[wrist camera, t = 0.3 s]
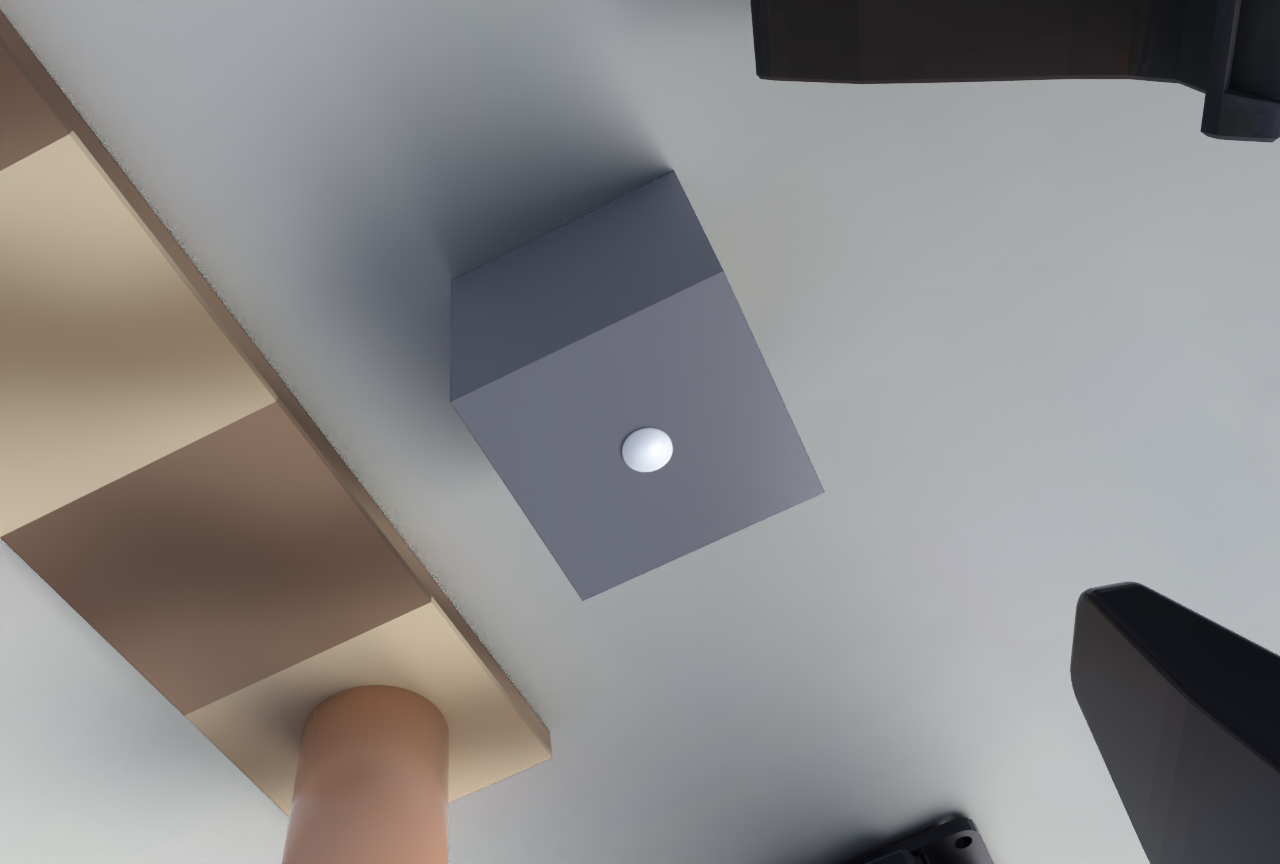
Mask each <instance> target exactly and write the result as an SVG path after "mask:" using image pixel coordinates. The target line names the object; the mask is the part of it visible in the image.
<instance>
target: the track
mask: <svg viewBox="0 0 1280 864" xmlns="http://www.w3.org/2000/svg"><path fill="white" fill-rule="evenodd" d="M0 538H1V539H2V540H3V541H4V542H5V543H6V544H7V545H8V546H9V547H10V548H11V549H12V550H13V551H14V552H16V553H17V554H18V555H19V556H20V557H21V558H22V559H23V560H24V561H25V562H26V563H27V564H28V565H29V566H30V567H31V568H32V569H33V570H34V571H35V572H36V573H37V574H38V575H39V576H40V577H41V578H42V579H43V580H44V581H45V582H47V583H48V584H49V585H50V586H51V587H52V588H53V589H54V590H55V591H56V592H57V593H58V594H59V595H60V596H61V597H62V598H63V599H64V600H65V601H66V602H67V603H68V604H69V605H70V606H71V607H72V608H73V609H74V610H75V611H76V612H77V613H79V614H80V615H81V616H82V617H83V618H84V619H85V620H86V621H87V622H88V623H89V624H90V625H91V626H92V627H93V628H94V629H95V630H96V631H97V632H98V633H99V634H100V635H101V636H102V637H103V638H104V639H105V640H106V641H107V642H108V643H110V644H111V645H112V646H113V647H114V648H115V649H116V650H117V651H118V652H119V653H120V654H121V655H122V656H123V657H124V658H125V659H126V660H127V661H128V662H129V663H130V664H131V665H132V666H133V667H134V668H135V669H136V670H137V671H138V672H139V673H141V674H142V675H143V676H144V677H145V678H146V679H147V680H148V681H149V682H150V683H151V684H152V685H153V686H154V687H155V688H156V689H157V690H158V691H159V692H160V693H161V694H162V695H163V696H164V697H165V698H166V699H167V700H168V701H169V702H170V703H171V704H173V705H174V706H175V707H176V708H177V709H178V710H179V711H180V712H181V713H182V714H183V715H184V716H185V717H186V718H187V719H188V720H189V721H190V722H191V723H192V724H193V725H194V726H195V727H196V728H197V729H198V730H199V731H200V732H201V733H202V734H204V735H205V736H206V737H207V738H208V739H209V740H210V741H211V742H212V743H213V744H214V745H215V746H216V747H217V748H218V749H219V750H220V751H221V752H222V753H223V754H224V755H225V756H226V757H227V758H228V759H229V760H230V761H231V762H232V763H233V764H235V765H236V766H237V767H238V768H239V769H240V770H241V771H242V772H243V773H244V774H245V775H246V776H247V777H248V778H249V779H250V780H251V781H252V782H253V783H254V784H255V785H256V786H257V787H258V788H259V789H260V790H261V791H262V792H263V793H264V794H266V795H267V796H268V797H269V798H270V799H271V800H272V801H273V802H274V803H275V804H276V805H277V806H278V807H279V808H280V809H281V810H282V811H283V812H284V813H285V814H286V815H287V816H288V817H289V815H290V809H291V802H292V796H293V790H294V783H295V777H296V770H297V764H298V757H299V751H300V744H301V738H302V732H303V727H304V724H305V722H306V720H307V718H308V716H309V715H310V713H311V712H312V711H313V710H314V709H315V708H316V707H317V706H318V705H319V704H320V703H321V702H323V701H324V700H326V699H327V698H329V697H331V696H333V695H335V694H336V693H339V692H342V691H344V690H347V689H351V688H355V687H360V686H368V685H387V686H395V687H399V688H404V689H407V690H410V691H413V692H415V693H417V694H420V695H421V696H423V697H425V698H426V699H428V700H429V701H431V702H432V703H433V704H434V705H435V706H436V707H437V708H438V709H439V710H440V711H441V713H442V714H443V716H444V718H445V720H446V722H447V725H448V729H449V803H450V802H453V801H455V800H457V799H460V798H462V797H464V796H467V795H469V794H471V793H473V792H476V791H478V790H480V789H483V788H485V787H487V786H489V785H492V784H494V783H496V782H499V781H501V780H503V779H506V778H508V777H510V776H512V775H515V774H517V773H519V772H522V771H524V770H526V769H528V768H531V767H533V766H535V765H538V764H540V763H542V762H545V761H547V760H549V759H551V758H552V750H551V740H550V732H549V731H548V729H547V728H546V727H545V726H544V724H543V723H542V722H541V720H540V719H539V718H538V716H537V715H536V714H535V712H534V711H533V710H532V708H531V707H530V706H529V704H528V703H527V702H526V701H525V699H524V698H523V697H522V695H521V694H520V693H519V691H518V690H517V689H516V687H515V686H514V685H513V683H512V682H511V681H510V679H509V678H508V677H507V676H506V674H505V673H504V672H503V670H502V669H501V668H500V666H499V665H498V664H497V662H496V661H495V660H494V658H493V657H492V656H491V655H490V653H489V652H488V651H487V649H486V648H485V647H484V645H483V644H482V643H481V641H480V640H479V639H478V637H477V636H476V635H475V633H474V632H473V631H472V630H471V628H470V627H469V626H468V624H467V623H466V622H465V620H464V619H463V618H462V616H461V615H460V614H459V612H458V611H457V610H456V608H455V607H454V606H453V605H452V603H451V602H450V601H449V599H448V598H447V597H446V595H445V594H444V593H443V591H442V590H441V589H440V587H439V586H438V585H437V583H436V582H435V581H434V580H433V578H432V577H431V576H430V574H429V573H428V572H427V570H426V569H425V568H424V566H423V565H422V564H421V562H420V561H419V560H418V559H417V557H416V556H415V555H414V553H413V552H412V551H411V549H410V548H409V547H408V545H407V544H406V543H405V541H404V540H403V539H402V537H401V536H400V535H399V534H398V532H397V531H396V530H395V528H394V527H393V526H392V524H391V523H390V522H389V520H388V519H387V518H386V516H385V515H384V514H383V512H382V511H381V510H380V509H379V507H378V506H377V505H376V503H375V502H374V501H373V499H372V498H371V497H370V495H369V494H368V493H367V491H366V490H365V489H364V488H363V486H362V485H361V484H360V482H359V481H358V480H357V478H356V477H355V476H354V474H353V473H352V472H351V470H350V469H349V468H348V466H347V465H346V464H345V463H344V461H343V460H342V459H341V457H340V456H339V455H338V453H337V452H336V451H335V449H334V448H333V447H332V445H331V444H330V443H329V441H328V440H327V439H326V438H325V436H324V435H323V434H322V432H321V431H320V430H319V428H318V427H317V426H316V424H315V423H314V422H313V420H312V419H311V418H310V416H309V415H308V414H307V413H306V411H305V410H304V409H303V407H302V406H301V405H300V403H299V402H298V401H297V399H296V398H295V397H294V395H293V394H292V393H291V392H290V390H289V389H288V388H287V386H286V385H285V384H284V382H283V381H282V380H281V378H280V377H279V376H278V374H277V373H276V372H275V370H274V369H273V368H272V367H271V365H270V364H269V363H268V361H267V360H266V359H265V357H264V356H263V355H262V353H261V352H260V351H259V349H258V348H257V347H256V345H255V344H254V343H253V342H252V340H251V339H250V338H249V336H248V335H247V334H246V332H245V331H244V330H243V328H242V327H241V326H240V324H239V323H238V322H237V320H236V319H235V318H234V317H233V315H232V314H231V313H230V311H229V310H228V309H227V307H226V306H225V305H224V303H223V302H222V301H221V299H220V298H219V297H218V296H217V294H216V293H215V292H214V290H213V289H212V288H211V286H210V285H209V284H208V282H207V281H206V280H205V278H204V277H203V276H202V274H201V273H200V272H199V271H198V269H197V268H196V267H195V265H194V264H193V263H192V261H191V260H190V259H189V257H188V256H187V255H186V253H185V252H184V251H183V249H182V248H181V247H180V246H179V244H178V243H177V242H176V240H175V239H174V238H173V236H172V235H171V234H170V232H169V231H168V230H167V228H166V227H165V226H164V225H163V223H162V222H161V221H160V219H159V218H158V217H157V215H156V214H155V213H154V211H153V210H152V209H151V207H150V206H149V205H148V203H147V202H146V201H145V200H144V198H143V197H142V196H141V194H140V193H139V192H138V190H137V189H136V188H135V186H134V185H133V184H132V182H131V181H130V180H129V178H128V177H127V176H126V175H125V173H124V172H123V171H122V169H121V168H120V167H119V165H118V164H117V163H116V161H115V160H114V159H113V157H112V156H111V155H110V153H109V152H108V151H107V150H106V148H105V147H104V146H103V144H102V143H101V142H100V140H99V139H98V138H97V136H96V135H95V134H94V132H93V131H92V130H91V129H90V127H89V126H88V125H87V123H86V122H85V121H84V119H83V118H82V117H81V115H80V114H79V113H78V111H77V110H76V109H75V107H74V106H73V105H72V104H71V102H70V101H69V100H68V98H67V97H66V96H65V94H64V93H63V92H62V90H61V89H60V88H59V86H58V85H57V84H56V82H55V81H54V80H53V79H52V77H51V76H50V75H49V73H48V72H47V71H46V69H45V68H44V67H43V65H42V64H41V63H40V61H39V60H38V59H37V58H36V56H35V55H34V54H33V52H32V51H31V50H30V48H29V47H28V46H27V44H26V43H25V42H24V40H23V39H22V38H21V36H20V35H19V34H18V33H17V31H16V30H15V29H14V27H13V26H12V25H11V23H10V22H9V21H8V19H7V18H6V17H5V15H4V14H3V13H2V11H1V10H0Z"/></svg>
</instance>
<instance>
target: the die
mask: <svg viewBox="0 0 1280 864" xmlns="http://www.w3.org/2000/svg"><path fill="white" fill-rule="evenodd" d="M450 403H451V404H452V406H453V407H454V409H455V410H456V412H457V413H458V415H459V416H460V418H461V419H462V421H463V422H464V424H465V425H466V427H467V428H468V430H469V431H470V433H471V434H472V436H473V437H474V439H475V440H476V442H477V443H478V445H479V446H480V448H481V449H482V451H483V452H484V454H485V455H486V457H487V458H488V460H489V461H490V463H491V464H492V466H493V467H494V469H495V470H496V472H497V473H498V475H499V476H500V478H501V479H502V481H503V482H504V484H505V485H506V487H507V488H508V490H509V491H510V493H511V494H512V496H513V497H514V499H515V500H516V502H517V503H518V505H519V506H520V508H521V509H522V511H523V512H524V514H525V515H526V517H527V518H528V520H529V521H530V523H531V524H532V526H533V527H534V529H535V530H536V532H537V533H538V535H539V536H540V538H541V539H542V541H543V542H544V544H545V545H546V547H547V548H548V550H549V551H550V553H551V554H552V556H553V557H554V559H555V560H556V562H557V563H558V565H559V566H560V568H561V569H562V571H563V572H564V574H565V575H566V577H567V578H568V580H569V581H570V583H571V584H572V586H573V587H574V589H575V590H576V592H577V593H578V595H579V596H580V598H581V599H582V601H584V600H586V599H588V598H590V597H592V596H595V595H597V594H599V593H601V592H604V591H606V590H608V589H610V588H612V587H615V586H617V585H619V584H621V583H624V582H626V581H628V580H630V579H632V578H635V577H637V576H639V575H641V574H644V573H646V572H648V571H650V570H652V569H655V568H657V567H659V566H661V565H664V564H666V563H668V562H670V561H672V560H675V559H677V558H679V557H681V556H684V555H686V554H688V553H690V552H692V551H695V550H697V549H699V548H701V547H704V546H706V545H708V544H710V543H712V542H715V541H717V540H719V539H721V538H723V537H726V536H728V535H730V534H732V533H735V532H737V531H739V530H741V529H743V528H746V527H748V526H750V525H752V524H755V523H757V522H759V521H761V520H763V519H766V518H768V517H770V516H772V515H775V514H777V513H779V512H781V511H783V510H786V509H788V508H790V507H792V506H795V505H797V504H799V503H801V502H803V501H806V500H808V499H810V498H812V497H815V496H817V495H819V494H821V493H823V492H825V491H824V489H823V487H822V485H821V483H820V481H819V478H818V476H817V474H816V472H815V470H814V467H813V465H812V463H811V461H810V459H809V457H808V454H807V452H806V450H805V448H804V446H803V443H802V441H801V439H800V437H799V435H798V433H797V430H796V428H795V426H794V424H793V422H792V419H791V417H790V415H789V413H788V411H787V409H786V406H785V404H784V402H783V400H782V398H781V396H780V393H779V391H778V389H777V387H776V385H775V382H774V380H773V378H772V376H771V374H770V372H769V369H768V367H767V365H766V363H765V361H764V358H763V356H762V354H761V352H760V350H759V348H758V345H757V343H756V341H755V339H754V337H753V334H752V332H751V330H750V328H749V326H748V324H747V321H746V319H745V317H744V315H743V313H742V310H741V308H740V306H739V304H738V302H737V300H736V297H735V295H734V293H733V291H732V289H731V286H730V284H729V282H728V280H727V278H726V276H725V273H724V271H723V269H722V267H721V265H720V263H719V261H718V259H717V257H716V255H715V253H714V251H713V249H712V247H711V245H710V243H709V241H708V239H707V237H706V235H705V233H704V231H703V229H702V226H701V224H700V222H699V220H698V218H697V216H696V214H695V212H694V210H693V208H692V206H691V204H690V202H689V200H688V198H687V196H686V194H685V192H684V190H683V188H682V186H681V184H680V182H679V180H678V178H677V176H676V174H675V172H674V171H672V172H670V173H668V174H666V175H664V176H662V177H660V178H658V179H656V180H654V181H652V182H650V183H648V184H645V185H643V186H641V187H639V188H637V189H635V190H633V191H631V192H629V193H627V194H625V195H623V196H621V197H619V198H617V199H615V200H613V201H611V202H609V203H607V204H605V205H603V206H601V207H599V208H597V209H595V210H593V211H591V212H589V213H587V214H585V215H583V216H581V217H579V218H577V219H575V220H573V221H571V222H569V223H567V224H565V225H563V226H561V227H559V228H557V229H555V230H553V231H551V232H549V233H547V234H545V235H543V236H541V237H539V238H537V239H534V240H532V241H530V242H528V243H526V244H524V245H522V246H520V247H518V248H516V249H514V250H512V251H510V252H508V253H506V254H504V255H502V256H500V257H498V258H496V259H494V260H492V261H490V262H488V263H486V264H484V265H482V266H480V267H478V268H476V269H474V270H472V271H470V272H468V273H466V274H464V275H462V276H460V277H458V278H456V279H454V280H452V281H451V375H450Z"/></svg>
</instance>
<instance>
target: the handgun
mask: <svg viewBox="0 0 1280 864" xmlns="http://www.w3.org/2000/svg"><path fill="white" fill-rule="evenodd" d="M751 13H752V25H753V37H754V49H755V61H756V73H757V75H758V76H759V78H760V79H767V80H779V81H803V82H827V83H850V84H887V83H939V82H983V81H1015V80H1048V79H1135V80H1146V81H1158V82H1169V83H1180V84H1182V85H1185V86H1187V87H1190V88H1192V89H1195V90H1197V91H1200V92H1202V93H1205V94H1206V95H1205V103H1204V110H1203V118H1202V125H1201V132H1202V133H1204V134H1205V135H1206V136H1208V137H1212V138H1216V139H1224V140H1239V141H1257V142H1273V141H1275V140H1276V139H1278V138H1279V137H1280V0H751Z"/></svg>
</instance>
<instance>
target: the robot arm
mask: <svg viewBox="0 0 1280 864" xmlns="http://www.w3.org/2000/svg"><path fill="white" fill-rule="evenodd" d="M1070 672H1071V681H1072V686H1073V690H1074V693H1075V696H1076V699H1077V701H1078V703H1079V706H1080V708H1081V710H1082V712H1083V715H1084V717H1085V719H1086V721H1087V724H1088V726H1089V728H1090V730H1091V733H1092V735H1093V737H1094V739H1095V742H1096V744H1097V746H1098V748H1099V751H1100V753H1101V755H1102V757H1103V760H1104V762H1105V764H1106V766H1107V769H1108V771H1109V773H1110V775H1111V777H1112V780H1113V782H1114V784H1115V786H1116V789H1117V791H1118V793H1119V795H1120V798H1121V800H1122V802H1123V804H1124V807H1125V809H1126V811H1127V813H1128V816H1129V818H1130V820H1131V822H1132V825H1133V827H1134V829H1135V831H1136V834H1137V836H1138V838H1139V840H1140V843H1141V845H1142V847H1143V849H1144V851H1145V853H1146V855H1147V857H1148V860H1149V862H1150V864H1280V656H1279V655H1277V654H1275V653H1273V652H1271V651H1269V650H1267V649H1266V648H1264V647H1262V646H1260V645H1258V644H1256V643H1254V642H1252V641H1250V640H1248V639H1246V638H1244V637H1242V636H1241V635H1239V634H1237V633H1235V632H1233V631H1231V630H1229V629H1227V628H1225V627H1223V626H1221V625H1219V624H1217V623H1216V622H1214V621H1212V620H1210V619H1208V618H1206V617H1204V616H1202V615H1200V614H1198V613H1196V612H1194V611H1192V610H1191V609H1189V608H1187V607H1185V606H1183V605H1181V604H1179V603H1177V602H1175V601H1173V600H1171V599H1169V598H1167V597H1166V596H1164V595H1162V594H1160V593H1158V592H1156V591H1154V590H1152V589H1150V588H1148V587H1146V586H1144V585H1142V584H1139V583H1136V582H1122V583H1117V584H1111V585H1106V586H1100V587H1095V588H1090V589H1088V590H1086V591H1084V592H1083V593H1082V594H1081V595H1080V597H1079V599H1078V602H1077V607H1076V615H1075V625H1074V635H1073V645H1072V655H1071V666H1070ZM847 864H994V863H993V861H992V859H991V857H990V855H989V853H988V850H987V848H986V846H985V844H984V842H983V840H982V837H981V835H980V833H979V831H978V829H977V827H976V825H975V823H974V822H973V821H972V820H970V819H968V818H959V819H955V820H952V821H949V822H947V823H944V824H942V825H940V826H937V827H935V828H932V829H930V830H927V831H925V832H923V833H920V834H918V835H915V836H913V837H910V838H908V839H905V840H903V841H901V842H898V843H896V844H893V845H891V846H888V847H886V848H884V849H881V850H879V851H876V852H874V853H871V854H869V855H866V856H864V857H862V858H859V859H857V860H854V861H852V862H849V863H847Z"/></svg>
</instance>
